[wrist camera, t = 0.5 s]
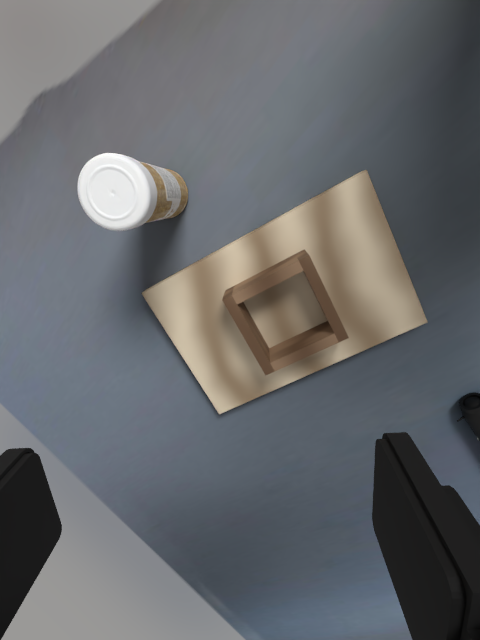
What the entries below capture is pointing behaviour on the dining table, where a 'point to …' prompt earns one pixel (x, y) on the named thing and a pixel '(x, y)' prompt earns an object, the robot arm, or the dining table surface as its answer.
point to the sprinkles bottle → (129, 192)
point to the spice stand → (290, 296)
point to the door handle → (471, 411)
